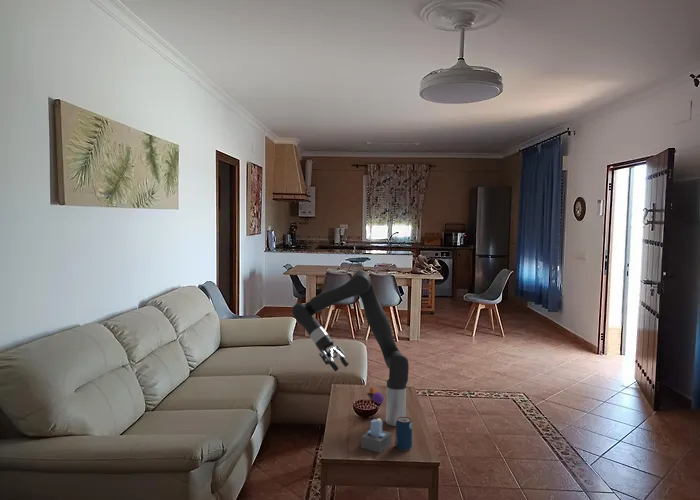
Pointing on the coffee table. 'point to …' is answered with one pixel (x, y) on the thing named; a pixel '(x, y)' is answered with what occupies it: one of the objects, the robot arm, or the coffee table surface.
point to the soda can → (403, 433)
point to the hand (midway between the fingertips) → (342, 367)
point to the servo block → (376, 428)
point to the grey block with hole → (376, 442)
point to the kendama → (376, 396)
